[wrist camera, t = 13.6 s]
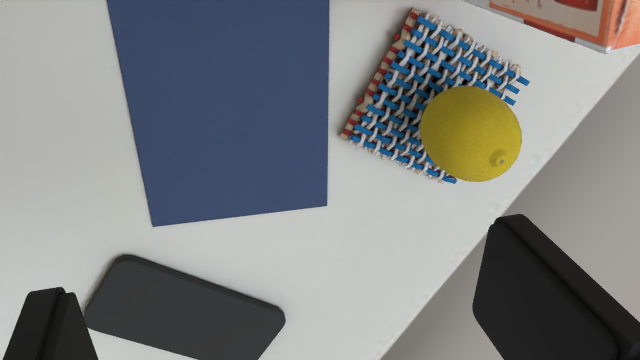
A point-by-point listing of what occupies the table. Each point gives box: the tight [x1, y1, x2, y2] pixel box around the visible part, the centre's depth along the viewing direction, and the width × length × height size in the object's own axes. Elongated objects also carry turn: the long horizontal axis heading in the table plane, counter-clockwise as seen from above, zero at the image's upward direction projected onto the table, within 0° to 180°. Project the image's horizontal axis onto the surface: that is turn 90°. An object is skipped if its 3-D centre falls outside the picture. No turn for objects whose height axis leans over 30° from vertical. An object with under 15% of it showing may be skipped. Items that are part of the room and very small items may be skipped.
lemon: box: [420, 86, 522, 182], centre depth 30 cm, size 6×6×8 cm
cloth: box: [107, 0, 329, 227], centre depth 32 cm, size 18×13×1 cm
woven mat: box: [340, 8, 530, 184], centre depth 35 cm, size 10×11×2 cm
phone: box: [83, 256, 286, 360], centre depth 40 cm, size 7×1×15 cm
